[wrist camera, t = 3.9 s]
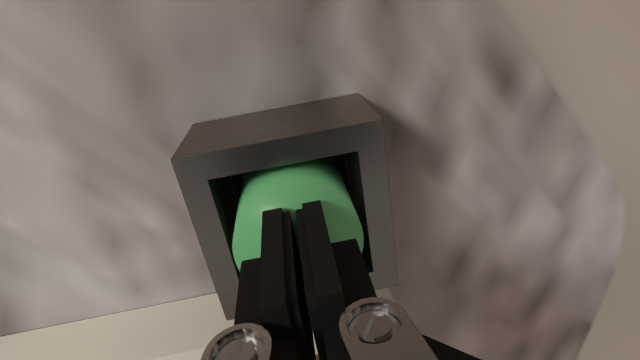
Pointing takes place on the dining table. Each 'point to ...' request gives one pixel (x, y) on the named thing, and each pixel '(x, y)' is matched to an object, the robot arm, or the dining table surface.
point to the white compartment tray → (131, 334)
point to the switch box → (277, 150)
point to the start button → (293, 203)
